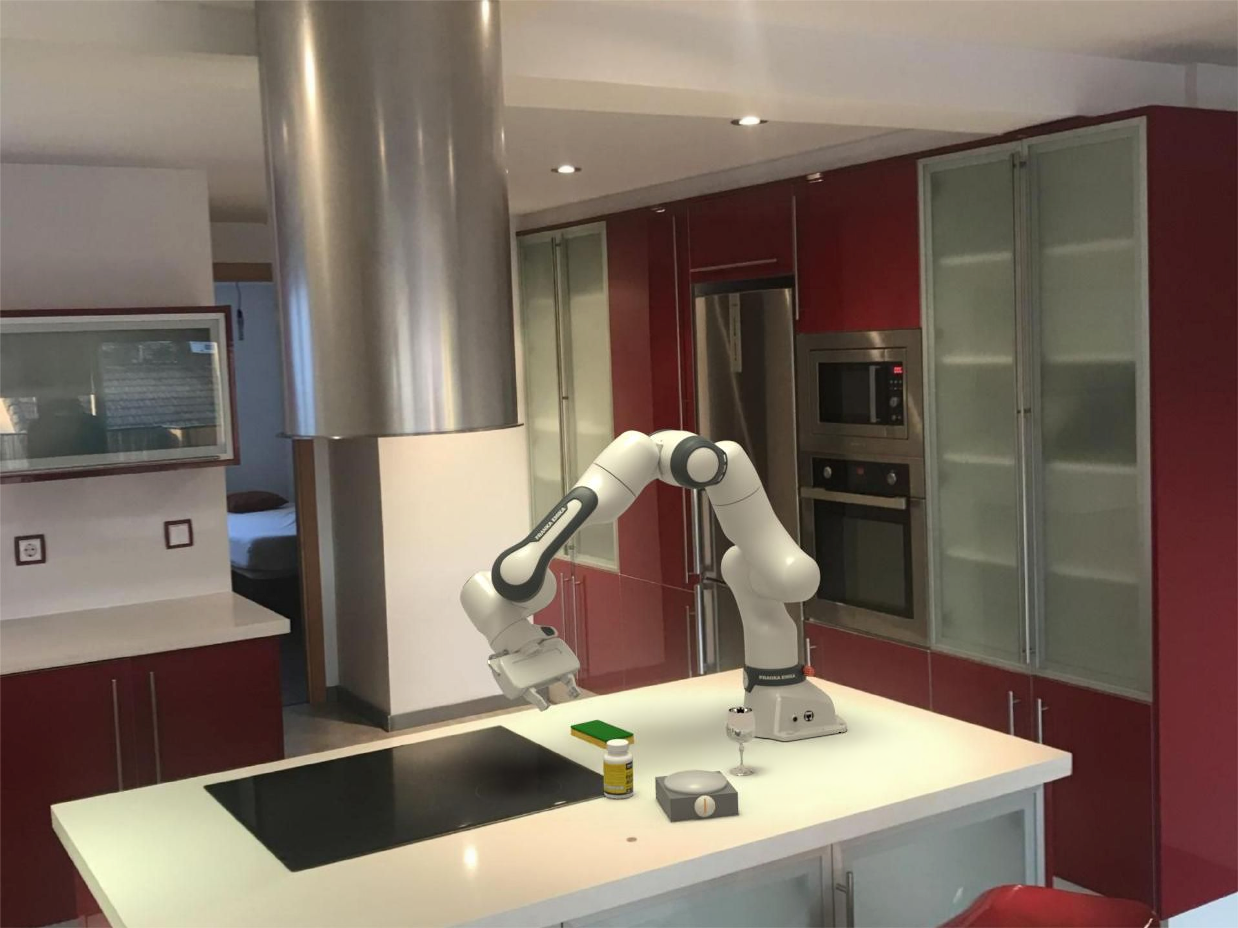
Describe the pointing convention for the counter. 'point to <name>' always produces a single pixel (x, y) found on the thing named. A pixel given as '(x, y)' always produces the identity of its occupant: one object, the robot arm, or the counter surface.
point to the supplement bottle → (618, 770)
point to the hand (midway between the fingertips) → (561, 702)
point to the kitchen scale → (696, 795)
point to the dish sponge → (600, 733)
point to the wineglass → (741, 732)
